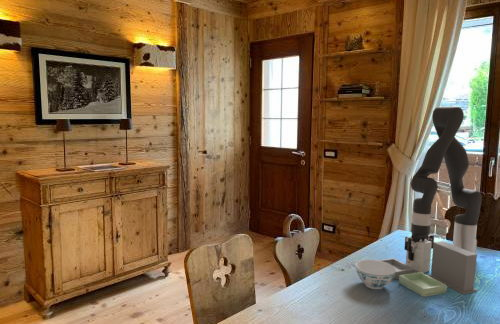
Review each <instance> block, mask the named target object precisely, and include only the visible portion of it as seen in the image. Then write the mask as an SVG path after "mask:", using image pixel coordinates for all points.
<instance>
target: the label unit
mask: <svg viewBox="0 0 500 324" xmlns="http://www.w3.org/2000/svg"><path fill="white" fill-rule="evenodd" d="M477 258H478V254H477V253H476V254H475V253H472V252H469V251H467V250H464V249H462V248H459V247H456V246H454V245H453V244H451V243H449V242H446V241H443V240H442V241H441V240H440V241H436V242H435V241H434V242H433V249H432V255H431V266H430V270H431V271H430V274H427V275H428V276H430V277H432V278H434V279H436V280H438V281H440V282H442V283H444V284H446V285H447V288H449V289H452V290H453V291H456V292H458V294H459V293H460V294H461V295H466V294H473V293H476V292H477V291H478V290H477V289H476V288H475V277H476V267H477Z"/></svg>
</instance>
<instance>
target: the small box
mask: <svg viewBox="0 0 500 324" xmlns="http://www.w3.org/2000/svg"><path fill="white" fill-rule="evenodd" d="M416 243H418V245H417V249H415V251H414V252H413V253H414V260H413V261H411V260H409V259H408V251H405V252H406V255H405V264H406V265H408V266H410V267H412V268H414V269H415V273H417V272H422V273H424V274H425V273H427V272H429V271H430V270H431V261H432V255H431V254H432V249H431V245H432V242H431V241H426V242H424V241H422V242H416ZM416 243H414V241H412V242H411V244H412V245H416ZM412 248H413V247H411V249H412Z"/></svg>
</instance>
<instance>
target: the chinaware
mask: <svg viewBox="0 0 500 324" xmlns="http://www.w3.org/2000/svg"><path fill="white" fill-rule="evenodd" d="M377 260H378V259H377ZM377 260H376V259H362V260H359V261H356V263H355V269H356V274H357V276H358V278H359V279H360V280H361V281H362V282H363V283H364V284H365V287H367V288H369V289H372V290H382V289H384V287H385V286H387V285H389V284H391V282H392V281H393V280H394V279H393V278H394V276H395V273H396V269H395V267H394V266H392V265H391V264H388V263H386V262H382V261H377Z"/></svg>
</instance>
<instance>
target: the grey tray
mask: <svg viewBox="0 0 500 324" xmlns="http://www.w3.org/2000/svg"><path fill="white" fill-rule="evenodd" d="M377 261H382V262H386V263H388V264H391V265H392V266H394V267H395V269H396V273H395V276H394V278H393V279H392V280H397V279H398V280H399V275H404V274H411V273H416V271H415V269H414V268H412V267H410V266H408V265H406V263H404V262H402V261H400V260H399V259H396V258H393V257H392V258H385V259H377Z"/></svg>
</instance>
